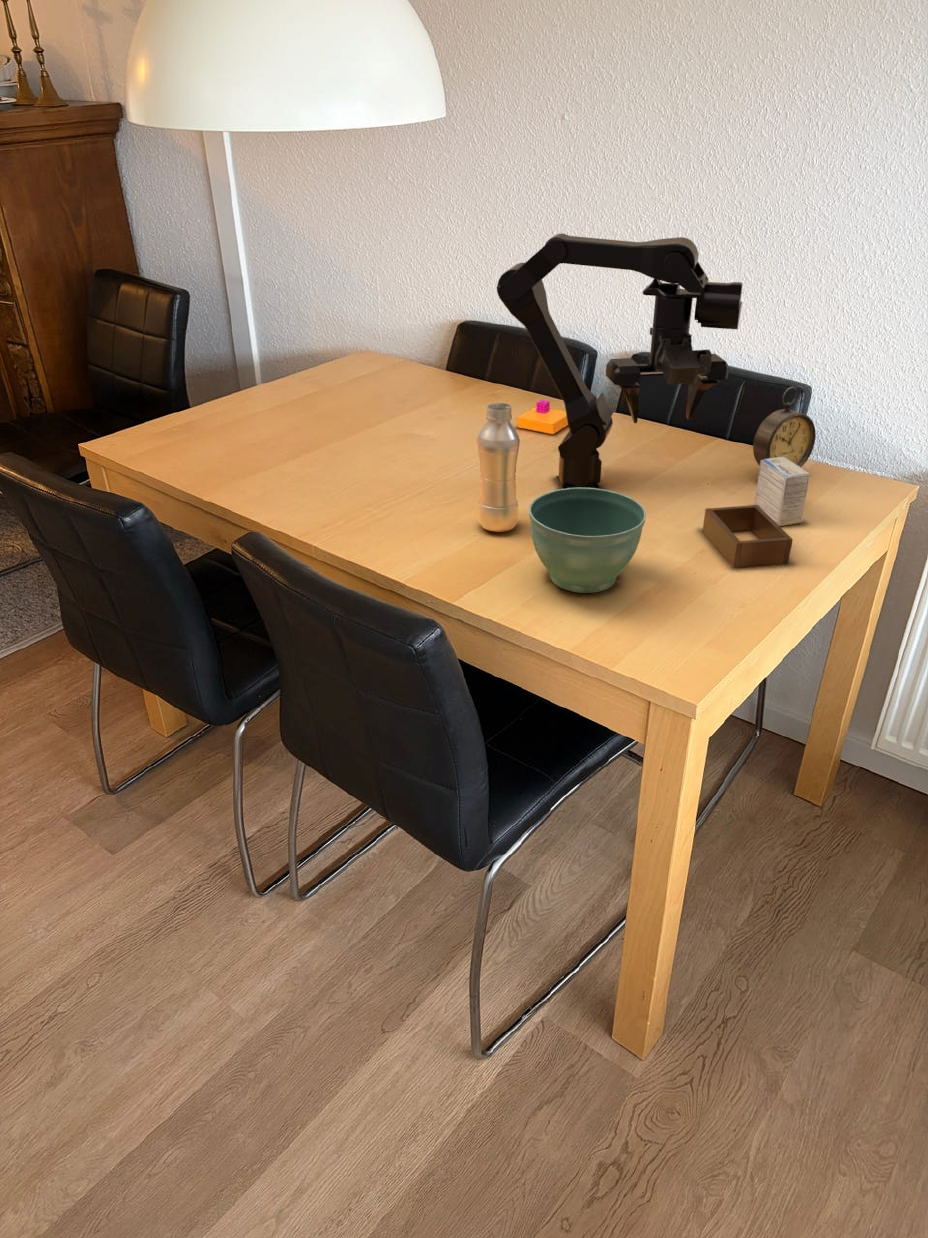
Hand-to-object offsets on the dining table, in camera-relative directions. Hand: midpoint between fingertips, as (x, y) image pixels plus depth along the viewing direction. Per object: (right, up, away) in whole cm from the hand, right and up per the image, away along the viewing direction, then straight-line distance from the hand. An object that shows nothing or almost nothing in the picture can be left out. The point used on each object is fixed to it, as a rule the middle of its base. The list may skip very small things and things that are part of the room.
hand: (661, 420), depth 161 cm
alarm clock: (+23, -7, +13) cm, 28 cm away
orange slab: (-16, +9, +37) cm, 41 cm away
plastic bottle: (-27, -18, -5) cm, 33 cm away
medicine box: (+19, -16, -1) cm, 25 cm away
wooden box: (+10, -22, -11) cm, 26 cm away
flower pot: (-15, -27, -20) cm, 37 cm away
